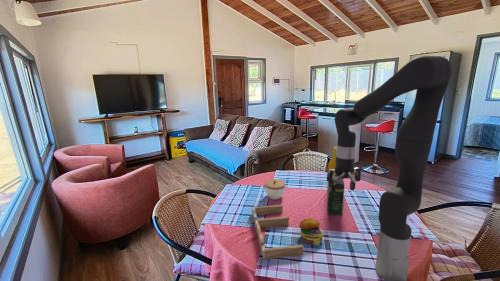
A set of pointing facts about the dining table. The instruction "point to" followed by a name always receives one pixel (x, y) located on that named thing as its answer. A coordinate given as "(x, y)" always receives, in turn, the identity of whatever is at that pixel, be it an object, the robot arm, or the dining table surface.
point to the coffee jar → (335, 198)
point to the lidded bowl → (275, 188)
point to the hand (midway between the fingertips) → (342, 190)
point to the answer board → (272, 222)
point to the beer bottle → (333, 162)
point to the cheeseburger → (311, 231)
